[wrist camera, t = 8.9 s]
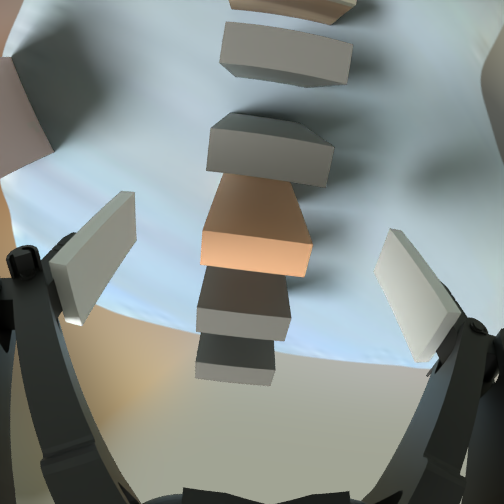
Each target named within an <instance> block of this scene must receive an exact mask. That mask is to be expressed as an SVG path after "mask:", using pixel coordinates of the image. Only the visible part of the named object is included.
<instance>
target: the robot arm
mask: <svg viewBox="0 0 504 504" xmlns="http://www.w3.org/2000/svg"><path fill="white" fill-rule="evenodd" d="M135 242H136V218H135V192H128V191H121V192H119V193H118V194H117V195H116V196H115V197H114V198H113V199H112V200H111V201H109V202H108V203H107V204H106V205H105V206H104V207H103V208H102V209H101V210H100V211H99V212H98V213H97V214H95V215H94V216H93V217H92V218H91V219H90V220H89V221H88V222H87V223H86V224H85V225H84V226H83V227H82V228H81V229H80V230H79V231H78V232H77V233H74V232H73V233H71V234H69V235H67V236H65V237H63V238H62V239H61V240H60V241H59V242H58V243H57V245H55V246H54V247H53V248H52V250H51V251H50V252H49V253H48V254H47V255H46V256H45V257H44V258H43V259H42V260H40V256H39V251H38V249H37V247H35V246H33V245H25V246H21V247H18V248H16V249H14V250H13V251H11V252H10V253H9V254H8V255H7V258H6V261H7V265H8V268H9V271H10V274H11V277H12V278H0V504H16V498H15V488H14V480H13V472H12V459H11V445H10V444H11V442H10V401H11V383H12V370H13V361H14V352H15V345H16V341H17V348H18V355H19V361H20V367H21V373H22V378H23V383H24V388H25V392H26V397H27V401H28V405H29V409H30V413H31V417H32V420H33V424H34V427H35V431H36V434H37V437H38V440H39V444H40V446H41V450H42V453H43V459H42V460H41V462H40V464H41V470H42V473H43V476H44V478H45V481H46V484H47V486H48V489H49V491H50V493H51V496H52V497H53V500H54V502H55V504H141V503H140V501H139V499H138V498H137V497H136V495H135V493H134V492H133V490H132V489H131V487H130V486H129V484H128V483H127V481H126V480H125V479H124V477H123V475H122V474H121V472H120V471H119V469H118V467H117V465H116V463H115V461H114V459H113V457H112V456H111V454H110V452H109V450H108V448H107V446H106V444H105V442H104V440H103V438H102V436H101V434H100V432H99V430H98V427H97V425H96V423H95V421H94V419H93V416H92V414H91V412H90V409H89V407H88V405H87V402H86V400H85V398H84V395H83V392H82V390H81V387H80V384H79V382H78V379H77V376H76V374H75V371H74V368H73V365H72V362H71V359H70V357H69V353H68V350H67V347H66V343H65V340H64V337H63V333H62V330H61V326H60V323H59V320H58V316H59V315H60V313H61V312H62V311H63V314H64V317H65V320H66V322H68V323H72V324H76V325H80V326H83V324H84V322H85V320H86V319H87V317H88V315H89V313H90V312H91V310H92V308H93V307H94V305H95V304H96V302H97V300H98V299H99V297H100V295H101V294H102V292H103V291H104V289H105V287H106V286H107V284H108V283H109V281H110V279H111V278H112V276H113V275H114V273H115V272H116V270H117V269H118V267H119V266H120V264H121V263H122V261H123V260H124V258H125V257H126V255H127V254H128V252H129V251H130V249H131V248H132V246H133V245H134V243H135ZM373 272H374V274H375V276H376V278H377V280H378V282H379V284H380V286H381V288H382V290H383V292H384V294H385V296H386V298H387V300H388V302H389V304H390V307H391V309H392V311H393V313H394V315H395V317H396V320H397V322H398V324H399V326H400V328H401V331H402V333H403V335H404V337H405V340H406V342H407V344H408V347H409V349H410V351H411V354H412V356H413V359H414V361H415V362H429V361H430V360H431V358H432V357H433V355H434V354H435V353H436V352H437V355H438V357H439V359H438V360H437V362H436V363H435V364H434V366H433V367H432V368H431V370H430V371H429V372H428V374H427V375H426V376H427V377H428V376H429V375H430V374H431V376H430V378H429V381H428V383H427V386H426V388H425V391H424V393H423V395H422V398H421V400H420V403H419V405H418V407H417V409H416V412H415V414H414V416H413V418H412V420H411V422H410V425H409V427H408V429H407V431H406V433H405V435H404V437H403V438H402V440H401V443H400V444H399V446H398V448H397V450H396V452H395V454H394V456H393V457H392V459H391V461H390V463H389V464H388V466H387V468H386V470H385V471H384V473H383V475H382V476H381V478H380V479H379V481H378V483H377V484H376V486H375V487H374V488H373V490H372V491H371V492H370V493H369V494H367V495H366V496H365V497H364V498H363V500H362V501H358V500H354V499H350V495H349V491H346V492H338V493H326V494H312V495H309V496H305V497H301V498H298V499H294V500H290V501H286V502H282V503H277V504H460V501H461V499H462V503H461V504H504V328H503V329H501V330H500V331H499V333H498V334H497V336H493V335H489V334H488V331H487V329H486V327H485V326H484V325H483V324H482V323H481V322H480V321H478V320H476V319H474V318H467V316H466V315H465V313H464V312H463V310H462V308H461V307H460V305H459V304H458V302H457V301H455V298H454V297H453V295H451V292H450V291H449V289H448V288H447V287H446V286H445V285H444V284H443V283H442V282H441V281H440V280H439V279H438V278H437V276H436V275H435V273H434V272H433V271H432V269H431V268H430V267H429V265H428V264H427V263H426V261H425V260H424V259H423V257H422V256H421V255H420V253H419V252H418V251H417V249H416V248H415V247H414V246H413V244H412V243H411V242H410V241H409V239H408V238H407V237H406V236H405V234H404V233H403V232H402V231H401V230H396V229H391V228H390V229H389V232H388V234H387V237H386V240H385V243H384V245H383V248H382V251H381V253H380V256H379V259H378V261H377V264H376V266H375V269H374V271H373ZM498 374H499V376H498V379H497V381H496V382H494V378H495V377H496V376H497V375H498ZM467 449H468V458H467V468H466V477H463V476H461V475H460V471H461V468H462V464H463V461H464V459H465V455H466V452H467ZM462 496H463V497H462ZM143 504H263V503H259V502H255V501H252V500H248V499H244V498H241V497H238V496H234V495H231V494H227V493H221V492H212V491H204V490H197V489H190V488H183V494H173V495H167V496H162V497H158V498H155V499H152V500H149V501H147V502H145V503H143Z"/></svg>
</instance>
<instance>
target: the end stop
mask: <svg viewBox="0 0 504 504" xmlns="http://www.w3.org/2000/svg"><path fill="white" fill-rule="evenodd" d="M356 2H357V0H229V3H230V6H231V9H235V10H246V11H255V12H263V13H271V14H277V15H283V16H289V17H295V18H300V19H305V20H310V21H314V22H319V23H323V24H327V25H331V24H333V23H334V22H335V21H336V20H338V19H339V18H340V17H341V16H343V15H344V14H345V13H346V12H348V11H349V10H350V9H351V8H353V7H354V6H355V5H356Z"/></svg>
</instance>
